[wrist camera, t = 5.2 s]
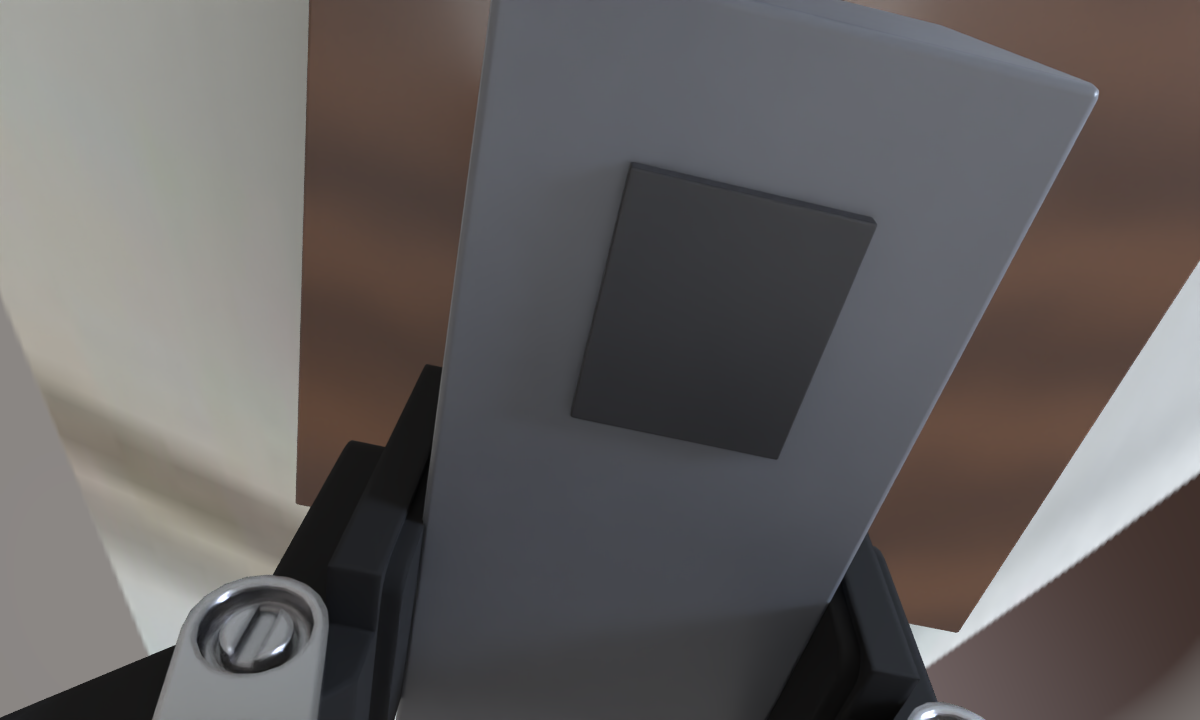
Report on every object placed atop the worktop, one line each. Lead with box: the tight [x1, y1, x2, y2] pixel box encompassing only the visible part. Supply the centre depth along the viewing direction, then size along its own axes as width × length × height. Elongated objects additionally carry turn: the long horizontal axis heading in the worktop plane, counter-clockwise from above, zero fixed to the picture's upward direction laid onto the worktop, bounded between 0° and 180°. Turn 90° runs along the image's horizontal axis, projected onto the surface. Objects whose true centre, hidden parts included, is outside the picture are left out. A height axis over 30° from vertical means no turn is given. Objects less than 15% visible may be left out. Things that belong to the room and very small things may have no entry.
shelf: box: [296, 0, 1200, 633], centre depth 22 cm, size 20×22×5 cm
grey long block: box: [396, 0, 1099, 720], centre depth 10 cm, size 14×4×4 cm, turn 168°
